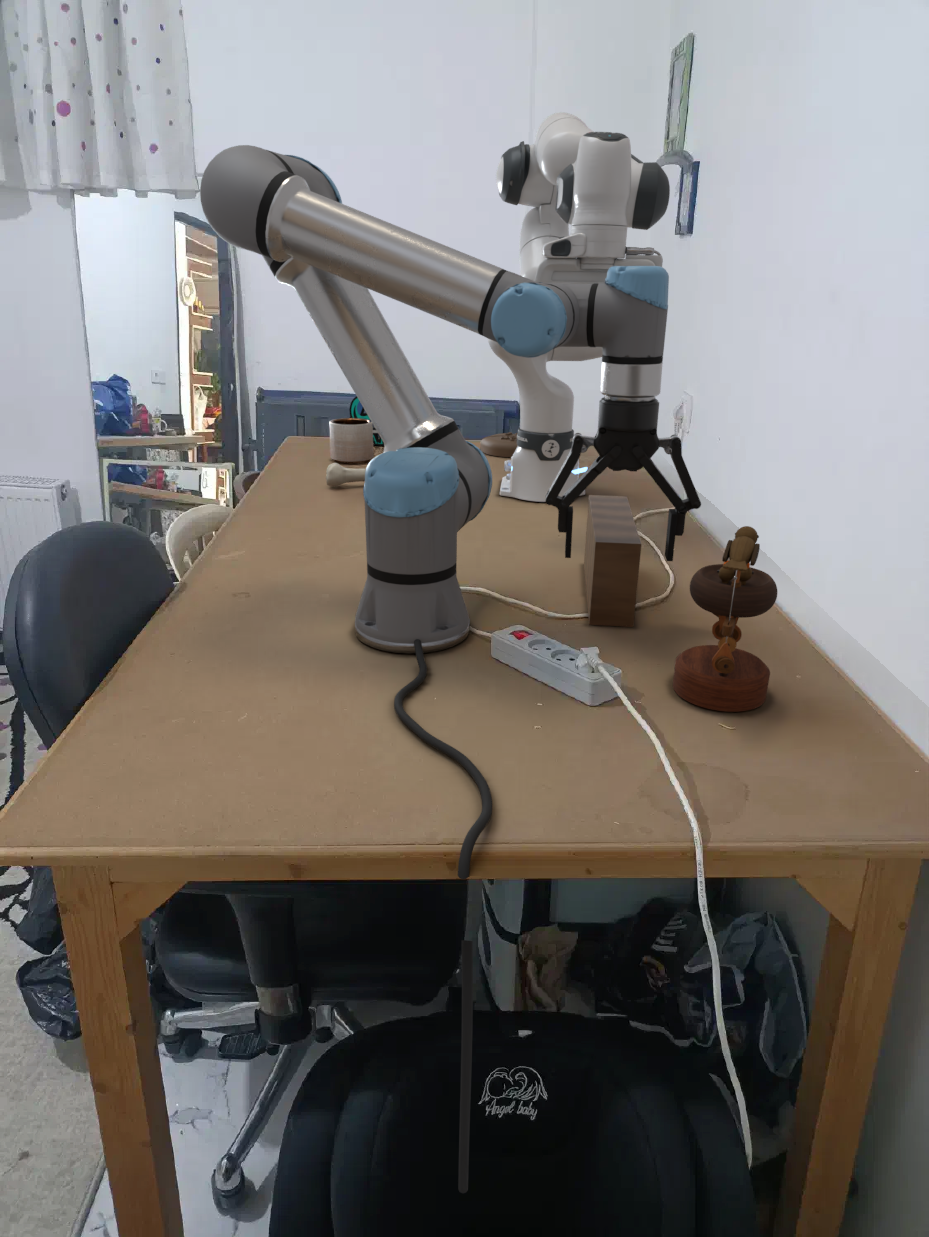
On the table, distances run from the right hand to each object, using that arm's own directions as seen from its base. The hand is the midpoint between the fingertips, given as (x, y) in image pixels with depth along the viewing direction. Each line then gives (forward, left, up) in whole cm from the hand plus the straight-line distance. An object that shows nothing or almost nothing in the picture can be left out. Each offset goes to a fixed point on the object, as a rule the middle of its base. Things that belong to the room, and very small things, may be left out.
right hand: (591, 337), depth 140 cm
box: (+28, -2, -35) cm, 45 cm away
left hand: (+37, -4, -26) cm, 46 cm away
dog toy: (-43, -37, -35) cm, 66 cm away
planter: (-71, -42, -35) cm, 89 cm away
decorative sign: (-91, -38, -35) cm, 104 cm away
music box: (+60, +3, -35) cm, 69 cm away
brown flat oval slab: (-74, +3, -35) cm, 82 cm away
